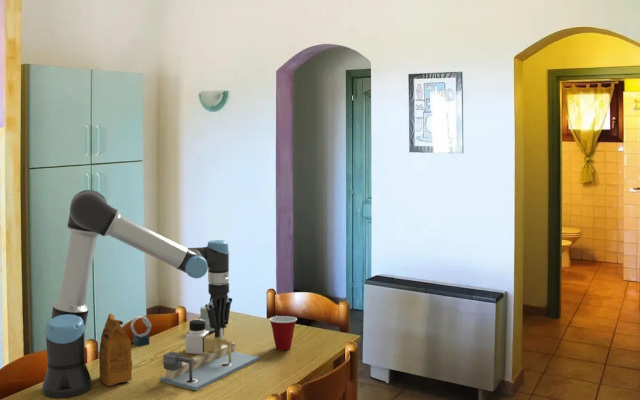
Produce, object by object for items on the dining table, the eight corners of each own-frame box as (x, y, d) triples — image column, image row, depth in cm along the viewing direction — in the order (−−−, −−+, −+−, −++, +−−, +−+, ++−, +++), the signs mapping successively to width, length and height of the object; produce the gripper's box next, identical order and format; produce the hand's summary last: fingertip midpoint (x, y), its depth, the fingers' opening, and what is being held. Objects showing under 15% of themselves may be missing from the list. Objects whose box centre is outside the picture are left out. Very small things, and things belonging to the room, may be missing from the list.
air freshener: (212, 335, 278) (211, 311, 277) (193, 333, 280) (193, 310, 279) (221, 327, 289) (221, 304, 288) (203, 326, 291) (203, 303, 290)
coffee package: (125, 371, 237) (123, 310, 235) (135, 382, 226) (133, 319, 224) (96, 376, 232) (94, 314, 230) (104, 388, 221) (102, 323, 219)
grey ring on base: (154, 343, 267) (153, 316, 266) (134, 347, 263) (133, 319, 261) (148, 339, 272) (147, 313, 271) (129, 343, 267) (128, 316, 266)
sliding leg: (227, 363, 240) (227, 342, 239) (204, 358, 246) (203, 337, 245) (234, 360, 243) (234, 339, 242) (211, 355, 249) (211, 334, 248)
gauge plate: (196, 390, 220) (196, 387, 219) (160, 381, 228) (160, 377, 228) (258, 360, 248) (258, 356, 248) (224, 352, 257) (224, 349, 257)
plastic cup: (298, 343, 267) (298, 314, 265) (295, 353, 256) (295, 322, 255) (271, 343, 268) (271, 313, 267) (267, 352, 257) (266, 321, 256)
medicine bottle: (203, 354, 254) (202, 323, 253) (185, 353, 256) (184, 322, 254) (210, 348, 261) (209, 318, 260) (192, 347, 263) (192, 317, 261)
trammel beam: (188, 383, 223) (187, 360, 222) (164, 377, 228) (163, 354, 227) (250, 354, 251) (250, 333, 251) (227, 348, 257) (227, 329, 256)
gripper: (215, 287, 239) (215, 351, 242) (237, 280, 250) (238, 342, 253) (198, 284, 243) (200, 348, 246) (222, 278, 254) (222, 338, 257)
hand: (219, 345), depth 249 cm, fingers closed
